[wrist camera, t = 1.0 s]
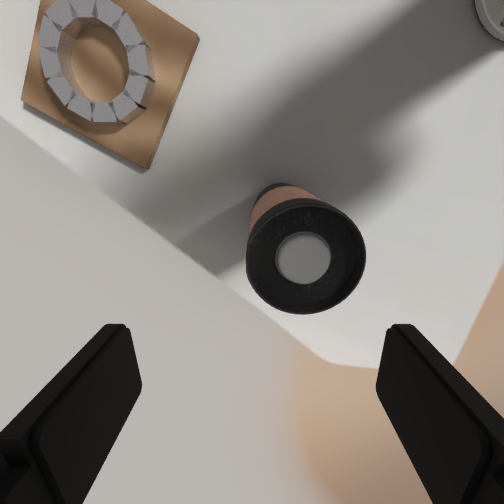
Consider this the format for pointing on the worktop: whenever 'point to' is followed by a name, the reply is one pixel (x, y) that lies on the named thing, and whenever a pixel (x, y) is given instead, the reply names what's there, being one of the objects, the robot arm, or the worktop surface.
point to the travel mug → (302, 251)
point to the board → (118, 78)
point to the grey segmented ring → (60, 51)
